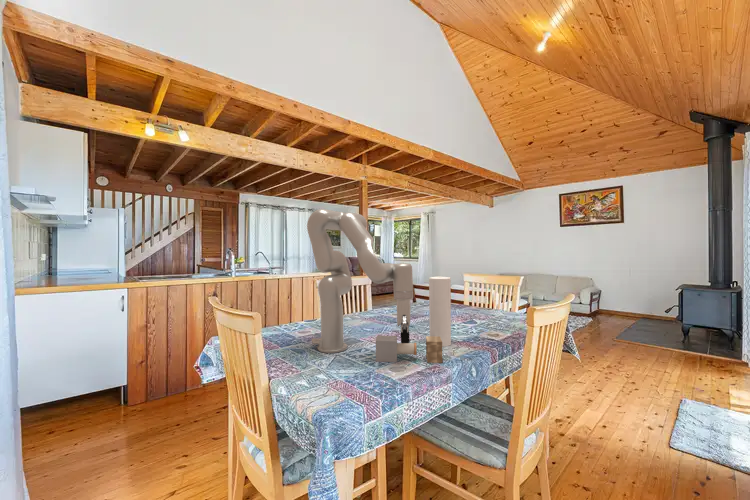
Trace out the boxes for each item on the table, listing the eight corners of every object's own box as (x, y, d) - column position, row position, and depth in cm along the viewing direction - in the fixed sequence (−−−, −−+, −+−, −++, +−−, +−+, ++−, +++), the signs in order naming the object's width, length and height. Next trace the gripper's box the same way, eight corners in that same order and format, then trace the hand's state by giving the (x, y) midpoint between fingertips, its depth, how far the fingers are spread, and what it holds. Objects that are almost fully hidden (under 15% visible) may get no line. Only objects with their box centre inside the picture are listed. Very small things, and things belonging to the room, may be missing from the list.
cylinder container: (449, 340, 150) (449, 275, 150) (452, 346, 141) (451, 277, 140) (428, 340, 151) (428, 275, 150) (430, 346, 142) (429, 277, 141)
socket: (427, 362, 122) (427, 341, 122) (426, 356, 129) (426, 336, 129) (442, 362, 122) (442, 341, 121) (440, 356, 128) (440, 336, 128)
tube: (377, 356, 125) (377, 344, 125) (378, 352, 129) (378, 340, 129) (416, 356, 124) (416, 344, 123) (416, 352, 128) (416, 341, 128)
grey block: (375, 361, 124) (375, 340, 124) (377, 355, 131) (377, 335, 131) (396, 362, 123) (396, 341, 123) (397, 355, 130) (397, 335, 130)
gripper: (394, 292, 135) (396, 333, 135) (393, 299, 117) (395, 346, 118) (412, 292, 134) (414, 333, 134) (414, 298, 117) (415, 345, 117)
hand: (405, 339), depth 126 cm, fingers open, 9 cm apart
